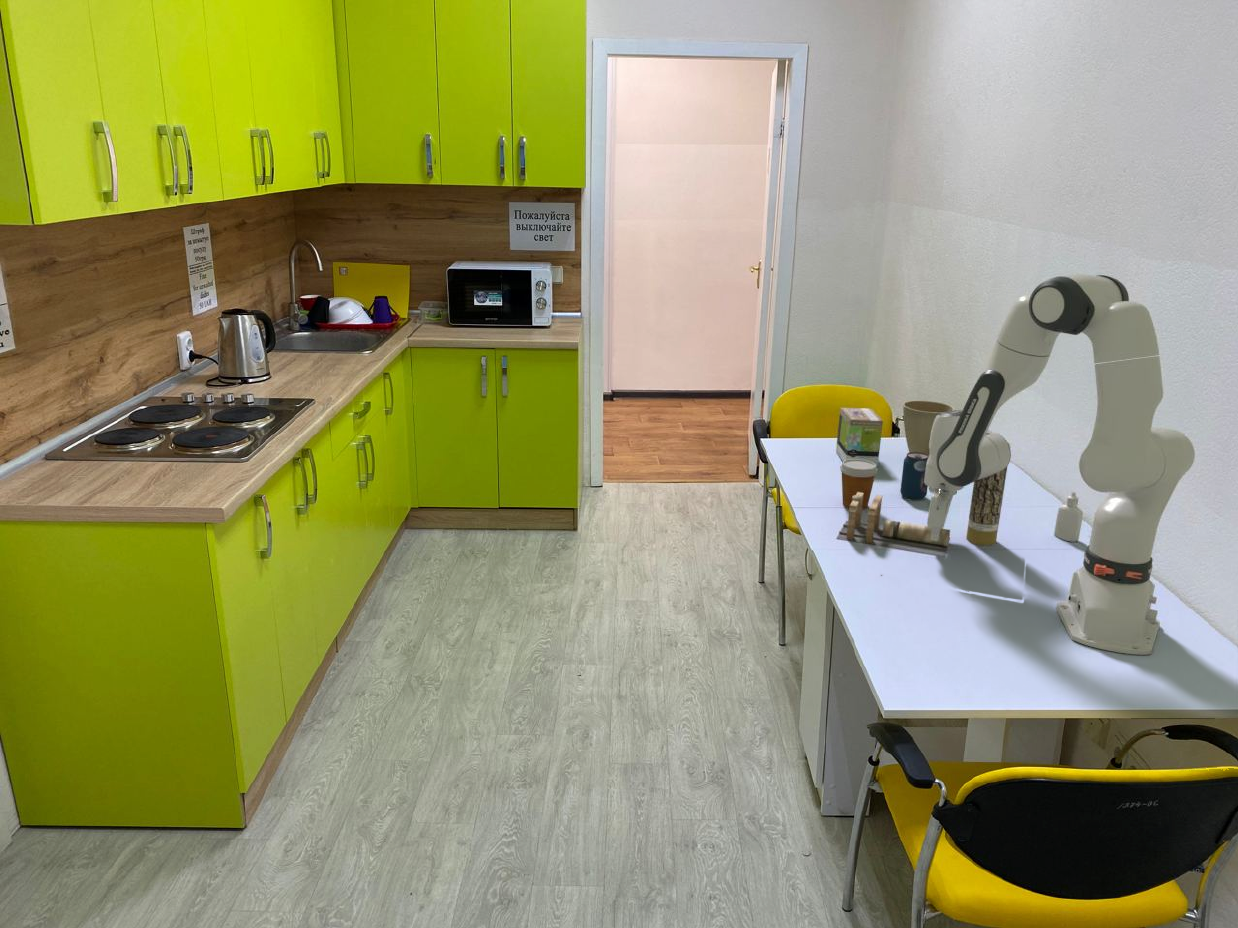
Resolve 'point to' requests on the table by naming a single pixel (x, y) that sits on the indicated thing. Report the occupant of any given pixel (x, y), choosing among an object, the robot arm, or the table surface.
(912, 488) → the soda can
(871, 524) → the collar stand
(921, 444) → the plant pot
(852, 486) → the disposable coffee cup
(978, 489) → the paper tube
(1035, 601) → the table surface
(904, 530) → the wooden roller
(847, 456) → the tea box
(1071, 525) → the eye dropper bottle
